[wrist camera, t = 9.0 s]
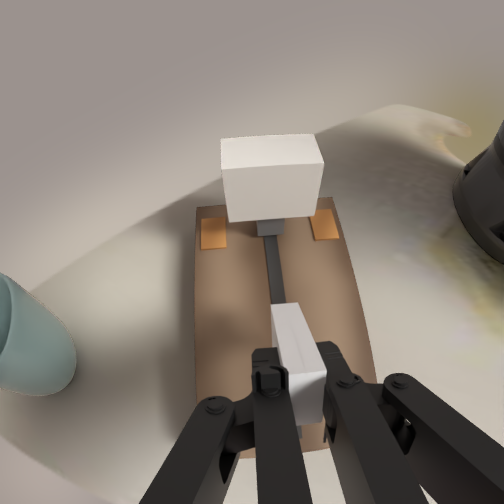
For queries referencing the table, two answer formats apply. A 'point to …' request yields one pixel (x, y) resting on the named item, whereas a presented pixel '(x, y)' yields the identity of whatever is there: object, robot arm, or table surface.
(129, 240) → the table surface
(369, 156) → the table surface
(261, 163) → the fader knob
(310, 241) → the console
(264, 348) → the robot arm
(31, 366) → the cup
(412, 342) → the table surface
